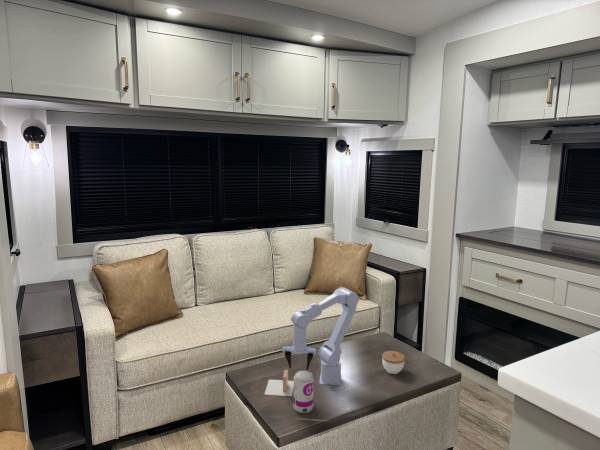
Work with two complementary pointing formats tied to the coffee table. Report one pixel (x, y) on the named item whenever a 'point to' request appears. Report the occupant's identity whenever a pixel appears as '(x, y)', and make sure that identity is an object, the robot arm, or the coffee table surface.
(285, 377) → the tile
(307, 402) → the supplement can
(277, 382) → the mat
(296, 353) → the robot arm
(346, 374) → the coffee table surface
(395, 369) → the lidded jar
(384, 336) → the coffee table surface
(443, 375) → the coffee table surface
